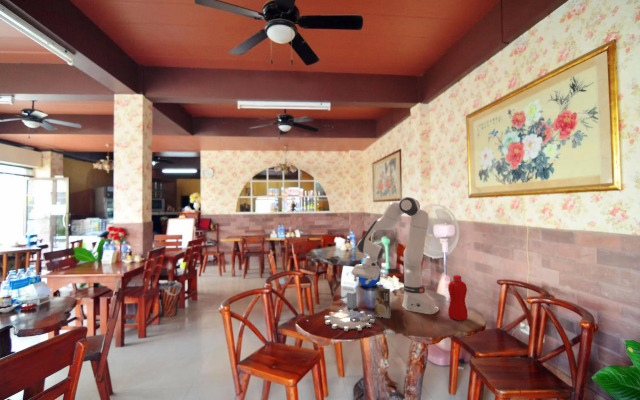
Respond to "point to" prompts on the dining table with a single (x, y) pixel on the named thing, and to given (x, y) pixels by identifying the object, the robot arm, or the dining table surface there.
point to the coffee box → (382, 302)
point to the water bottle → (457, 299)
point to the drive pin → (351, 299)
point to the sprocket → (349, 320)
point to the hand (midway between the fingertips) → (360, 282)
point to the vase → (371, 283)
